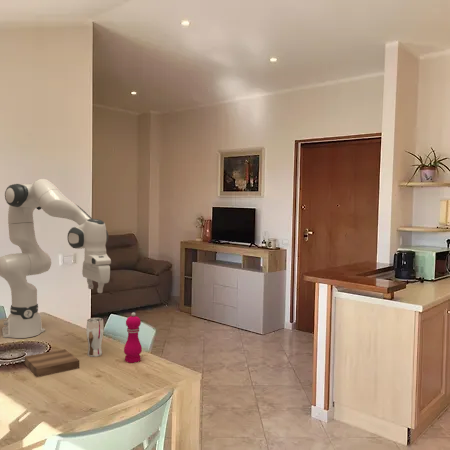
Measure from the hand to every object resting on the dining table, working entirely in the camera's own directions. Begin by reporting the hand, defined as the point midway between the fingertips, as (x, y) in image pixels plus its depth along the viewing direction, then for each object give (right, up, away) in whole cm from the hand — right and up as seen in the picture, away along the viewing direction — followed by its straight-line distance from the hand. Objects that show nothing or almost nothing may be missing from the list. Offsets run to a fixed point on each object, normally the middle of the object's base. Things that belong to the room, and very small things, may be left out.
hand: (95, 290), depth 196 cm
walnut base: (-14, -28, -12) cm, 33 cm away
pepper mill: (+16, -28, -4) cm, 33 cm away
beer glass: (-1, -28, +2) cm, 28 cm away
